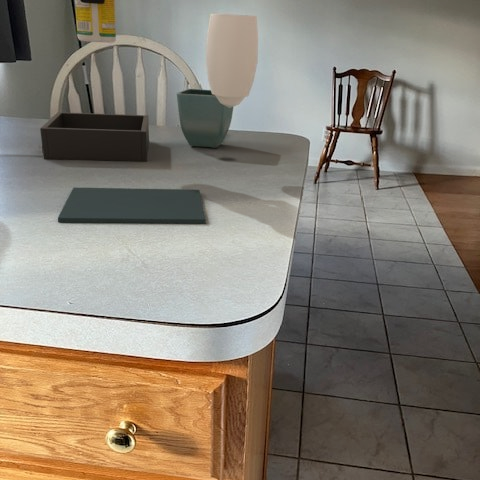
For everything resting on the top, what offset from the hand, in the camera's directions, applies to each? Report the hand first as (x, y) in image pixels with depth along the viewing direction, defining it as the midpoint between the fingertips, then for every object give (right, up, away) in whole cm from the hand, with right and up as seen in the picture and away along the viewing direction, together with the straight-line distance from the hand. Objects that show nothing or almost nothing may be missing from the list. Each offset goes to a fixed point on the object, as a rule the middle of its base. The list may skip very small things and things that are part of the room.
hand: (94, 2), depth 75 cm
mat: (+8, -31, -11) cm, 33 cm away
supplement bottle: (0, -4, +2) cm, 5 cm away
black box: (-3, -16, +15) cm, 22 cm away
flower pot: (+14, -13, +23) cm, 30 cm away
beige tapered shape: (+18, -21, +8) cm, 29 cm away
